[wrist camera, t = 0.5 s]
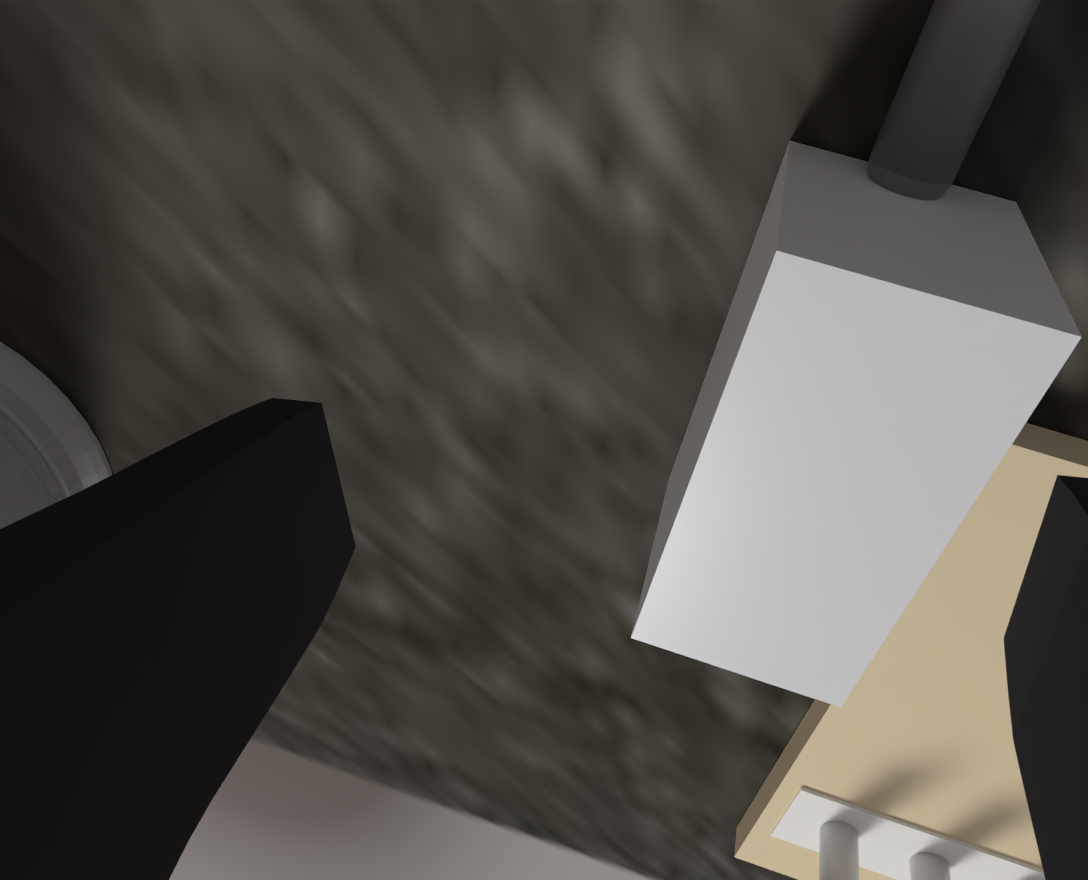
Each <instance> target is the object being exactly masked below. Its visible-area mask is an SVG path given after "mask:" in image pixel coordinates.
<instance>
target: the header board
mask: <svg viewBox="0 0 1088 880" xmlns="http://www.w3.org/2000/svg"><path fill="white" fill-rule="evenodd" d="M1057 475H1063V476H1073V477H1083V478H1088V441H1086V440H1083V439H1080V438H1076V437H1073V436H1069V435H1066V434H1063V433H1059V432H1056V431H1052V430H1049V429H1046V428H1042V427H1039V426H1036V425H1032V424H1029V423H1025V425H1024V427H1023V428H1022V430H1021V431H1020V433H1019V434H1018V436H1017V437H1016V439H1015V440H1014V442H1013V443H1012V445H1011V447H1010V448H1009V450H1008V451H1007V453H1006V454H1005V456H1004V457H1003V459H1002V460H1001V462H1000V464H999V465H998V467H997V468H996V470H995V471H994V473H993V474H992V476H991V477H990V479H989V480H988V482H987V484H986V485H985V487H984V488H983V490H982V491H981V493H980V494H979V496H978V497H977V499H976V500H975V502H974V504H973V505H972V507H971V508H970V510H969V511H968V513H967V514H966V516H965V517H964V519H963V521H962V522H961V524H960V525H959V527H958V528H957V530H956V531H955V533H954V534H953V536H952V537H951V539H950V541H949V542H948V544H947V545H946V547H945V548H944V550H943V551H942V553H941V554H940V556H939V558H938V559H937V561H936V562H935V564H934V565H933V567H932V568H931V570H930V571H929V573H928V574H927V576H926V578H925V579H924V581H923V582H922V584H921V585H920V587H919V588H918V590H917V591H916V593H915V594H914V596H913V598H912V599H911V601H910V602H909V604H908V605H907V607H906V608H905V610H904V611H903V613H902V615H901V616H900V618H899V619H898V621H897V622H896V624H895V625H894V627H893V628H892V630H891V631H890V633H889V635H888V636H887V638H886V639H885V641H884V642H883V644H882V645H881V647H880V648H879V650H878V651H877V653H876V655H875V656H874V658H873V659H872V661H871V662H870V664H869V665H868V667H867V668H866V670H865V672H864V673H863V675H862V676H861V678H860V679H859V681H858V682H857V684H856V685H855V687H854V688H853V690H852V692H851V693H850V695H849V696H848V698H847V699H846V701H845V702H844V704H843V705H842V707H838V706H835V705H832V704H829V703H826V702H823V701H820V700H817V699H815V700H814V701H813V703H812V705H811V706H810V708H809V710H808V711H807V713H806V715H805V716H804V718H803V720H802V721H801V723H800V724H799V726H798V728H797V729H796V731H795V733H794V734H793V736H792V738H791V739H790V741H789V742H788V744H787V746H786V747H785V749H784V751H783V752H782V754H781V756H780V757H779V759H778V760H777V762H776V764H775V765H774V767H773V769H772V770H771V772H770V774H769V775H768V777H767V778H766V780H765V782H764V783H763V785H762V787H761V788H760V790H759V792H758V793H757V795H756V796H755V798H754V800H753V801H752V803H751V805H750V806H749V808H748V810H747V811H746V813H745V814H744V816H743V818H742V819H741V821H740V823H739V824H738V826H737V832H736V843H735V854H734V857H736V858H738V859H741V860H744V861H747V862H750V863H753V864H755V865H758V866H761V867H764V868H767V869H770V870H773V871H775V872H778V873H781V874H784V875H787V876H790V877H792V878H795V879H798V880H1045V875H1044V871H1043V867H1042V863H1041V859H1040V854H1039V850H1038V846H1037V842H1036V838H1035V833H1034V829H1033V825H1032V821H1031V816H1030V812H1029V808H1028V803H1027V799H1026V795H1025V790H1024V786H1023V782H1022V777H1021V773H1020V769H1019V764H1018V760H1017V755H1016V751H1015V746H1014V741H1013V734H1012V725H1011V716H1010V706H1009V697H1008V686H1007V674H1006V662H1005V650H1004V635H1005V632H1006V629H1007V626H1008V623H1009V620H1010V617H1011V614H1012V611H1013V608H1014V605H1015V602H1016V599H1017V596H1018V593H1019V590H1020V587H1021V584H1022V581H1023V578H1024V575H1025V572H1026V569H1027V566H1028V563H1029V560H1030V557H1031V554H1032V550H1033V547H1034V544H1035V541H1036V538H1037V535H1038V532H1039V529H1040V526H1041V523H1042V520H1043V517H1044V514H1045V511H1046V508H1047V505H1048V502H1049V499H1050V496H1051V493H1052V490H1053V487H1054V484H1055V481H1056V478H1057Z"/></svg>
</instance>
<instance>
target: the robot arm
mask: <svg viewBox="0 0 1088 880" xmlns="http://www.w3.org/2000/svg"><path fill="white" fill-rule="evenodd" d="M354 549H355V542H354V538H353V534H352V530H351V526H350V521H349V517H348V513H347V509H346V504H345V500H344V496H343V492H342V487H341V483H340V479H339V475H338V470H337V466H336V462H335V458H334V454H333V449H332V445H331V441H330V437H329V432H328V428H327V424H326V420H325V415H324V411H323V407H322V403H317V402H307V401H297V400H287V399H276V398H271V399H268V400H266V401H263V402H261V403H258V404H255V405H253V406H251V407H248V408H246V409H244V410H241V411H239V412H237V413H235V414H233V415H231V416H228V417H226V418H224V419H222V420H220V421H218V422H216V423H214V424H212V425H210V426H208V427H206V428H204V429H202V430H200V431H198V432H196V433H194V434H192V435H190V436H188V437H186V438H184V439H182V440H180V441H178V442H176V443H174V444H172V445H170V446H168V447H166V448H164V449H162V450H160V451H158V452H156V453H154V454H152V455H150V456H149V457H147V458H145V459H143V460H141V461H139V462H137V463H135V464H133V465H131V466H129V467H127V468H125V469H123V470H121V471H119V472H117V473H115V474H113V475H111V476H109V477H107V478H105V479H103V480H101V481H99V482H97V483H95V484H93V485H92V486H90V487H88V488H86V489H84V490H82V491H80V492H77V493H75V494H73V495H71V496H69V497H67V498H65V499H63V500H61V501H58V502H56V503H54V504H52V505H50V506H48V507H46V508H44V509H42V510H39V511H37V512H35V513H33V514H31V515H29V516H27V517H25V518H23V519H20V520H18V521H16V522H14V523H12V524H10V525H8V526H6V527H4V528H1V529H0V880H169V878H170V876H171V874H172V872H173V870H174V868H175V866H176V864H177V862H178V860H179V858H180V856H181V854H182V852H183V850H184V848H185V846H186V844H187V842H188V841H189V839H190V837H191V835H192V833H193V832H194V830H195V828H196V826H197V825H198V823H199V821H200V820H201V818H202V816H203V814H204V813H205V811H206V809H207V807H208V806H209V804H210V802H211V800H212V799H213V797H214V795H215V794H216V792H217V791H218V789H219V788H220V786H221V784H222V782H223V781H224V780H225V778H226V776H227V775H228V773H229V772H230V770H231V769H232V767H233V765H234V764H235V762H236V761H237V759H238V757H239V756H240V754H241V752H242V751H243V749H244V748H245V746H246V745H247V743H248V742H249V740H250V738H251V737H252V735H253V734H254V732H255V730H256V729H257V727H258V726H259V724H260V723H261V721H262V719H263V718H264V716H265V715H266V713H267V711H268V710H269V708H270V707H271V705H272V704H273V702H274V700H275V699H276V697H277V696H278V694H279V692H280V691H281V689H282V688H283V686H284V684H285V683H286V681H287V680H288V678H289V676H290V675H291V673H292V672H293V670H294V668H295V667H296V665H297V663H298V662H299V660H300V659H301V657H302V655H303V654H304V652H305V650H306V649H307V647H308V646H309V644H310V642H311V641H312V639H313V637H314V636H315V634H316V632H317V631H318V629H319V627H320V625H321V624H322V622H323V619H324V617H325V615H326V613H327V611H328V609H329V607H330V604H331V602H332V600H333V598H334V596H335V594H336V592H337V590H338V587H339V585H340V582H341V580H342V578H343V575H344V573H345V571H346V568H347V566H348V564H349V561H350V559H351V556H352V554H353V552H354ZM1004 650H1005V662H1006V674H1007V686H1008V697H1009V706H1010V716H1011V725H1012V734H1013V741H1014V746H1015V751H1016V755H1017V760H1018V764H1019V769H1020V773H1021V777H1022V782H1023V786H1024V790H1025V795H1026V799H1027V803H1028V808H1029V812H1030V816H1031V821H1032V825H1033V829H1034V833H1035V838H1036V842H1037V846H1038V850H1039V854H1040V859H1041V863H1042V867H1043V871H1044V875H1045V880H1088V478H1083V477H1073V476H1063V475H1057V478H1056V481H1055V484H1054V487H1053V490H1052V493H1051V496H1050V499H1049V502H1048V505H1047V508H1046V511H1045V514H1044V517H1043V520H1042V523H1041V526H1040V529H1039V532H1038V535H1037V538H1036V541H1035V544H1034V547H1033V550H1032V554H1031V557H1030V560H1029V563H1028V566H1027V569H1026V572H1025V575H1024V578H1023V581H1022V584H1021V587H1020V590H1019V593H1018V596H1017V599H1016V602H1015V605H1014V608H1013V611H1012V614H1011V617H1010V620H1009V623H1008V626H1007V629H1006V632H1005V635H1004Z"/></svg>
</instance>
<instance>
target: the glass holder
mask: <svg viewBox="0 0 1088 880" xmlns="http://www.w3.org/2000/svg"><path fill="white" fill-rule="evenodd" d="M111 475H112V471H111V468H110V465H109V463H108V460H107V458H106V456H105V454H104V451H103V449H102V447H101V445H100V443H99V441H98V440H97V438H96V436H95V435H94V433H93V432H92V430H91V428H90V427H89V425H88V423H87V422H86V420H85V419H84V418H83V417H82V415H81V414H80V413H79V412H78V410H77V409H76V408H75V406H74V405H73V404H72V403H71V401H70V400H69V399H68V398H67V397H66V396H65V395H64V394H63V393H62V392H61V391H60V390H59V389H58V388H57V387H56V385H55V384H54V383H53V382H52V381H51V380H50V379H49V378H48V377H47V376H45V375H44V374H43V373H42V372H41V371H39V370H38V369H37V368H36V367H35V366H33V365H32V364H31V363H30V362H29V361H27V360H26V359H25V358H24V357H23V356H21V355H20V354H18V353H17V352H15V351H14V350H12V349H11V348H9V347H8V346H6V345H5V344H3V343H2V342H0V529H1V528H4V527H6V526H8V525H10V524H12V523H14V522H16V521H18V520H20V519H23V518H25V517H27V516H29V515H31V514H33V513H35V512H37V511H39V510H42V509H44V508H46V507H48V506H50V505H52V504H54V503H56V502H58V501H61V500H63V499H65V498H67V497H69V496H71V495H73V494H75V493H77V492H80V491H82V490H84V489H86V488H88V487H90V486H92V485H93V484H95V483H97V482H99V481H101V480H103V479H105V478H107V477H109V476H111Z"/></svg>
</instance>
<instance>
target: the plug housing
mask: <svg viewBox="0 0 1088 880" xmlns="http://www.w3.org/2000/svg"><path fill="white" fill-rule="evenodd" d="M1040 2H1041V0H935V1H934V3H933V5H932V8H931V10H930V13H929V15H928V17H927V20H926V22H925V25H924V27H923V29H922V32H921V34H920V37H919V39H918V41H917V44H916V46H915V49H914V51H913V53H912V56H911V58H910V61H909V63H908V65H907V68H906V70H905V73H904V75H903V77H902V80H901V82H900V85H899V87H898V89H897V92H896V94H895V97H894V99H893V101H892V104H891V106H890V109H889V111H888V113H887V116H886V118H885V121H884V123H883V125H882V128H881V130H880V133H879V135H878V137H877V140H876V142H875V145H874V147H873V149H872V152H871V154H870V158H869V161H868V162H867V161H863V160H860V159H856V158H852V157H848V156H845V155H841V154H837V153H834V152H830V151H826V150H823V149H819V148H815V147H812V146H808V145H804V144H801V143H797V142H793V141H789V143H788V146H787V149H786V152H785V155H784V158H783V160H782V163H781V166H780V169H779V172H778V174H777V177H776V180H775V183H774V186H773V188H772V191H771V194H770V197H769V200H768V202H767V205H766V208H765V211H764V214H763V216H762V219H761V222H760V225H759V228H758V230H757V233H756V236H755V239H754V242H753V245H752V247H751V250H750V253H749V256H748V259H747V261H746V264H745V267H744V270H743V273H742V275H741V278H740V281H739V284H738V287H737V289H736V292H735V295H734V298H733V301H732V303H731V306H730V309H729V312H728V315H727V317H726V320H725V323H724V326H723V329H722V331H721V334H720V337H719V340H718V343H717V346H716V348H715V351H714V354H713V357H712V360H711V362H710V365H709V368H708V371H707V374H706V376H705V379H704V382H703V385H702V388H701V390H700V393H699V396H698V399H697V402H696V404H695V407H694V410H693V413H692V416H691V418H690V421H689V424H688V427H687V430H686V432H685V435H684V438H683V441H682V444H681V447H680V449H679V452H678V455H677V458H676V461H675V463H674V466H673V469H672V472H671V475H670V477H669V481H668V485H667V489H666V493H665V497H664V502H663V506H662V510H661V514H660V518H659V522H658V527H657V531H656V535H655V539H654V543H653V547H652V552H651V556H650V560H649V564H648V568H647V572H646V577H645V581H644V585H643V589H642V593H641V597H640V602H639V606H638V610H637V614H636V618H635V622H634V627H633V631H632V635H631V638H633V639H636V640H639V641H642V642H645V643H648V644H651V645H654V646H657V647H660V648H663V649H666V650H669V651H672V652H675V653H678V654H681V655H684V656H687V657H690V658H693V659H696V660H699V661H702V662H705V663H708V664H711V665H714V666H717V667H720V668H723V669H726V670H729V671H732V672H735V673H738V674H741V675H744V676H747V677H750V678H753V679H756V680H759V681H762V682H765V683H768V684H771V685H775V686H778V687H781V688H784V689H787V690H790V691H793V692H796V693H799V694H802V695H805V696H808V697H811V698H814V699H817V700H820V701H823V702H826V703H829V704H832V705H835V706H838V707H842V705H843V704H844V702H845V701H846V699H847V698H848V696H849V695H850V693H851V692H852V690H853V688H854V687H855V685H856V684H857V682H858V681H859V679H860V678H861V676H862V675H863V673H864V672H865V670H866V668H867V667H868V665H869V664H870V662H871V661H872V659H873V658H874V656H875V655H876V653H877V651H878V650H879V648H880V647H881V645H882V644H883V642H884V641H885V639H886V638H887V636H888V635H889V633H890V631H891V630H892V628H893V627H894V625H895V624H896V622H897V621H898V619H899V618H900V616H901V615H902V613H903V611H904V610H905V608H906V607H907V605H908V604H909V602H910V601H911V599H912V598H913V596H914V594H915V593H916V591H917V590H918V588H919V587H920V585H921V584H922V582H923V581H924V579H925V578H926V576H927V574H928V573H929V571H930V570H931V568H932V567H933V565H934V564H935V562H936V561H937V559H938V558H939V556H940V554H941V553H942V551H943V550H944V548H945V547H946V545H947V544H948V542H949V541H950V539H951V537H952V536H953V534H954V533H955V531H956V530H957V528H958V527H959V525H960V524H961V522H962V521H963V519H964V517H965V516H966V514H967V513H968V511H969V510H970V508H971V507H972V505H973V504H974V502H975V500H976V499H977V497H978V496H979V494H980V493H981V491H982V490H983V488H984V487H985V485H986V484H987V482H988V480H989V479H990V477H991V476H992V474H993V473H994V471H995V470H996V468H997V467H998V465H999V464H1000V462H1001V460H1002V459H1003V457H1004V456H1005V454H1006V453H1007V451H1008V450H1009V448H1010V447H1011V445H1012V443H1013V442H1014V440H1015V439H1016V437H1017V436H1018V434H1019V433H1020V431H1021V430H1022V428H1023V427H1024V425H1025V423H1026V422H1027V420H1028V419H1029V417H1030V416H1031V414H1032V413H1033V411H1034V410H1035V408H1036V407H1037V405H1038V403H1039V402H1040V400H1041V399H1042V397H1043V396H1044V394H1045V393H1046V391H1047V390H1048V388H1049V386H1050V385H1051V383H1052V382H1053V380H1054V379H1055V377H1056V376H1057V374H1058V373H1059V371H1060V370H1061V368H1062V366H1063V365H1064V363H1065V362H1066V360H1067V359H1068V357H1069V356H1070V354H1071V353H1072V351H1073V350H1074V348H1075V346H1076V345H1077V343H1078V342H1079V340H1080V339H1081V335H1080V333H1079V331H1078V328H1077V326H1076V324H1075V322H1074V320H1073V318H1072V316H1071V314H1070V312H1069V310H1068V308H1067V306H1066V304H1065V302H1064V300H1063V298H1062V296H1061V293H1060V291H1059V289H1058V287H1057V285H1056V283H1055V281H1054V279H1053V277H1052V275H1051V273H1050V271H1049V269H1048V267H1047V265H1046V263H1045V260H1044V258H1043V256H1042V254H1041V252H1040V250H1039V248H1038V246H1037V244H1036V242H1035V240H1034V238H1033V236H1032V234H1031V232H1030V230H1029V228H1028V225H1027V223H1026V221H1025V219H1024V217H1023V215H1022V213H1021V211H1020V209H1019V207H1018V205H1017V203H1016V202H1015V201H1011V200H1007V199H1004V198H1000V197H996V196H992V195H989V194H985V193H981V192H978V191H974V190H970V189H967V188H963V187H959V186H956V185H952V183H953V181H954V179H955V177H956V175H957V173H958V171H959V169H960V167H961V165H962V163H963V161H964V159H965V157H966V155H967V152H968V150H969V148H970V146H971V144H972V142H973V140H974V138H975V136H976V134H977V132H978V130H979V128H980V126H981V124H982V122H983V119H984V117H985V115H986V113H987V111H988V109H989V107H990V105H991V103H992V101H993V99H994V97H995V95H996V93H997V91H998V89H999V86H1000V84H1001V82H1002V80H1003V78H1004V76H1005V74H1006V72H1007V70H1008V68H1009V66H1010V64H1011V62H1012V60H1013V58H1014V55H1015V53H1016V51H1017V49H1018V47H1019V45H1020V43H1021V41H1022V39H1023V37H1024V35H1025V33H1026V31H1027V29H1028V27H1029V25H1030V22H1031V20H1032V18H1033V16H1034V14H1035V12H1036V10H1037V8H1038V6H1039V4H1040Z"/></svg>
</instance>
